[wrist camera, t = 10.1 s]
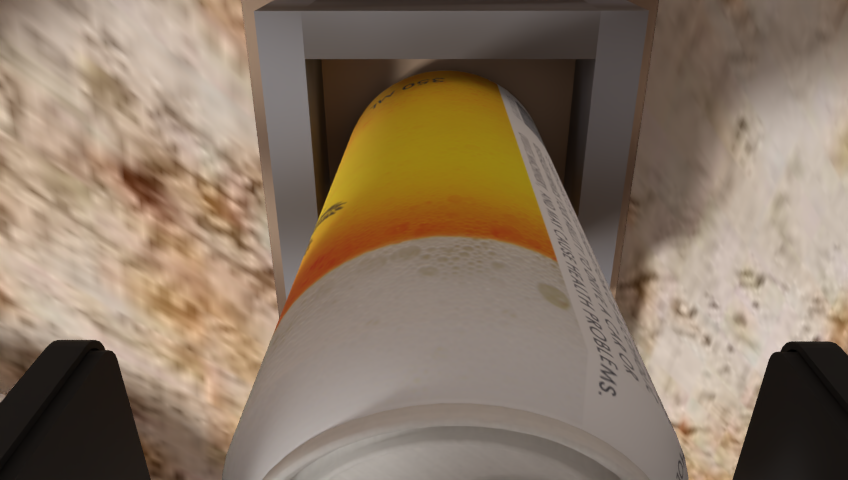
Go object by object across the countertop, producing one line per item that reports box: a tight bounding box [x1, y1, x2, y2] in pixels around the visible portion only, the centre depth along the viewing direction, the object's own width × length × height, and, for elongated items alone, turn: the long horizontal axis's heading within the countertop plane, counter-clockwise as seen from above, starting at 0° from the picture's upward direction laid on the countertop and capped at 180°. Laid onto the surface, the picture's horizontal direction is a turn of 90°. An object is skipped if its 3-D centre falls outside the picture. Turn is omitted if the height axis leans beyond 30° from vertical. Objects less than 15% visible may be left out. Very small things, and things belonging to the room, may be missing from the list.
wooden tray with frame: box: [241, 0, 659, 318], centre depth 21 cm, size 20×12×4 cm, turn 0°
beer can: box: [222, 70, 688, 480], centre depth 14 cm, size 6×6×15 cm
